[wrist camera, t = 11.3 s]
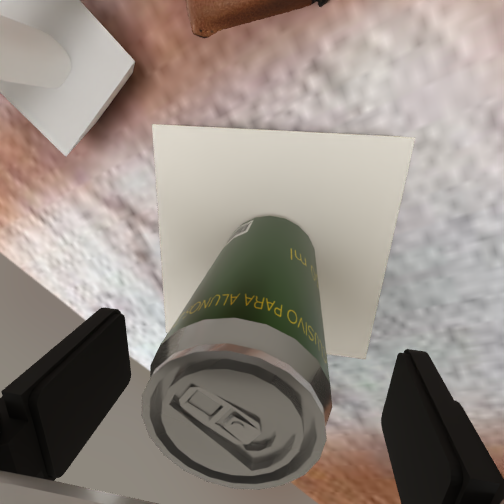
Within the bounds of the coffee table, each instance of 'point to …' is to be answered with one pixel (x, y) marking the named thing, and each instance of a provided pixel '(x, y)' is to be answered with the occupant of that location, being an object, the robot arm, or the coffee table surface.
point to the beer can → (246, 365)
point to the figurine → (59, 66)
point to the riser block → (283, 210)
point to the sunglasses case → (236, 12)
